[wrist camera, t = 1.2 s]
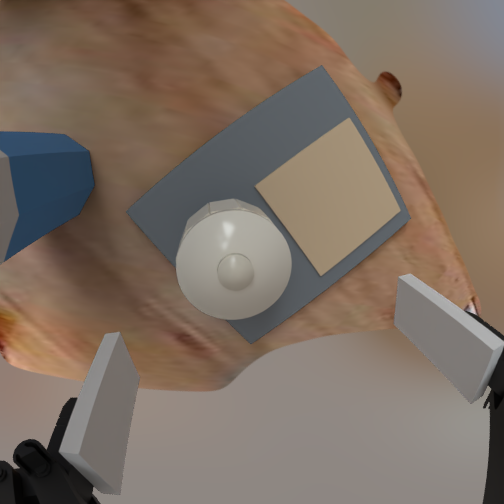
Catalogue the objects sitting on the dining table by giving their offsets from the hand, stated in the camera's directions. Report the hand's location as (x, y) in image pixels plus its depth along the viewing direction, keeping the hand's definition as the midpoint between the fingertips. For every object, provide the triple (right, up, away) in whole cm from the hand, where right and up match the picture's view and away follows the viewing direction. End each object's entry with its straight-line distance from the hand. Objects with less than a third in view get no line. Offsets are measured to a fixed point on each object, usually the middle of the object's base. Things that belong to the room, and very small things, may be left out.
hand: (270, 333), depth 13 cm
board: (+2, +8, +17) cm, 19 cm away
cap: (-3, +4, +12) cm, 13 cm away
